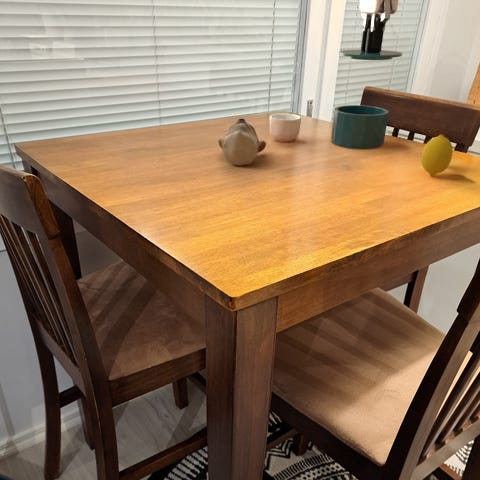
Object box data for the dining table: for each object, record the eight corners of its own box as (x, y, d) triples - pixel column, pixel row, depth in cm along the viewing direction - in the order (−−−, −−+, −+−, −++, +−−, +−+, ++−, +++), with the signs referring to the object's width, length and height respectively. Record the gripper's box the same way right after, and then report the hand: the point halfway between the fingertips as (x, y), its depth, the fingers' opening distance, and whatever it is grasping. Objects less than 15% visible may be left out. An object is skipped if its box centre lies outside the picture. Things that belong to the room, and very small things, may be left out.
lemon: (435, 171, 102) (444, 130, 98) (452, 179, 98) (463, 137, 94) (412, 173, 101) (420, 132, 97) (429, 181, 97) (438, 139, 92)
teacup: (300, 143, 120) (302, 120, 117) (268, 143, 120) (270, 119, 117) (297, 134, 128) (299, 112, 125) (267, 133, 128) (268, 111, 125)
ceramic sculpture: (212, 122, 97) (220, 112, 110) (212, 167, 101) (219, 152, 114) (266, 124, 97) (268, 114, 110) (264, 169, 101) (265, 154, 114)
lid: (385, 54, 117) (389, 26, 114) (412, 60, 106) (417, 30, 102) (330, 55, 115) (333, 27, 112) (351, 61, 104) (355, 30, 101)
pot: (370, 135, 128) (375, 104, 124) (391, 148, 118) (397, 114, 113) (324, 137, 126) (327, 105, 122) (341, 150, 116) (345, 115, 111)
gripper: (420, -55, 93) (402, 55, 103) (385, -49, 107) (372, 48, 117) (382, -56, 92) (368, 55, 102) (352, -49, 106) (341, 49, 116)
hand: (370, 51), depth 109 cm, fingers closed on lid, 2 cm apart
